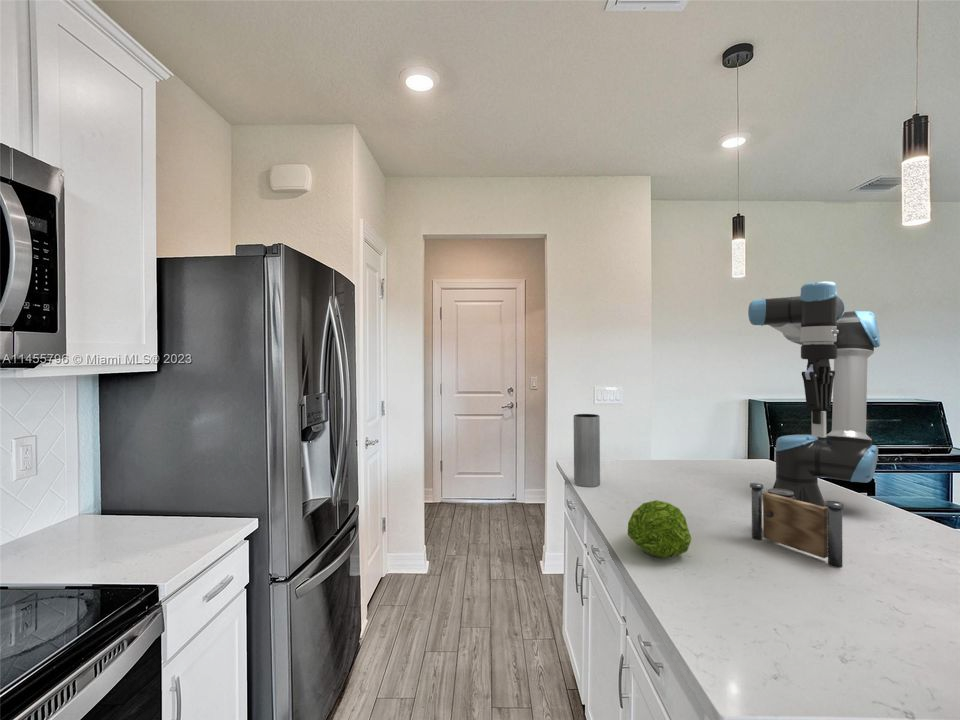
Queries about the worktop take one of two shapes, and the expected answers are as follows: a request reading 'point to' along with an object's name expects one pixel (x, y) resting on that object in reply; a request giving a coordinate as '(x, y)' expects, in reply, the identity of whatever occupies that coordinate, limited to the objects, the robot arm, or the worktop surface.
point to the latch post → (756, 510)
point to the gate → (796, 524)
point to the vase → (587, 450)
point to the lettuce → (659, 529)
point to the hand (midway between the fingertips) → (818, 436)
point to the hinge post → (835, 533)
